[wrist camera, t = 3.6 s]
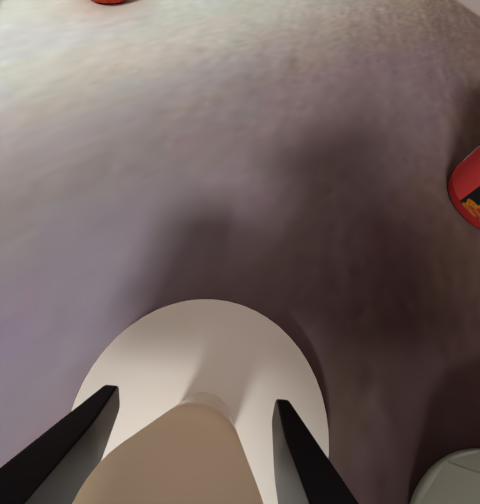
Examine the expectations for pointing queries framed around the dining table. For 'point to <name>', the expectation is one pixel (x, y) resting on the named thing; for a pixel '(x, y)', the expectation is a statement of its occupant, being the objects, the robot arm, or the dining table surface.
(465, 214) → the canned food
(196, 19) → the dining table surface
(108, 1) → the apple
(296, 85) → the dining table surface
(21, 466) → the robot arm
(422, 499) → the bowl
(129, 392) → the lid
